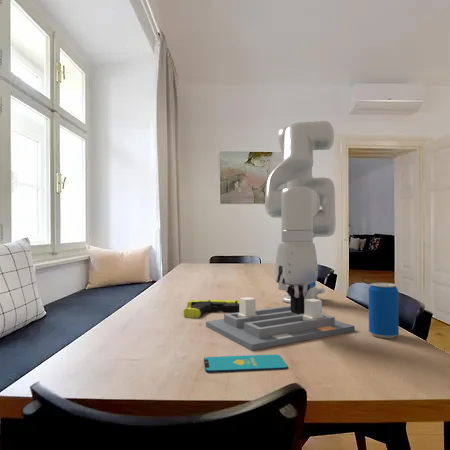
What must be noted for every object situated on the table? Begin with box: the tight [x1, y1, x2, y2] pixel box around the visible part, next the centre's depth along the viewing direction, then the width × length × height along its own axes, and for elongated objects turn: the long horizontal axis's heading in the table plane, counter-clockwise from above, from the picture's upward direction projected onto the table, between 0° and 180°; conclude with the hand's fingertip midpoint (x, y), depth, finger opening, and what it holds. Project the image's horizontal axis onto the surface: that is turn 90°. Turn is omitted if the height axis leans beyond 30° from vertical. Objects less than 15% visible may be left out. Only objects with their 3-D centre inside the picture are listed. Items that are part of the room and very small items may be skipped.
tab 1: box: [238, 296, 257, 318], centre depth 96 cm, size 4×3×6 cm
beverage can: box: [368, 282, 400, 339], centre depth 88 cm, size 6×6×12 cm
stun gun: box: [183, 299, 239, 319], centre depth 113 cm, size 3×19×15 cm
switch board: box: [205, 305, 355, 351], centre depth 95 cm, size 30×22×3 cm
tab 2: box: [303, 299, 324, 321], centre depth 93 cm, size 4×3×6 cm
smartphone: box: [203, 354, 289, 374], centre depth 70 cm, size 7×1×15 cm
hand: (297, 312), depth 91 cm, fingers closed
